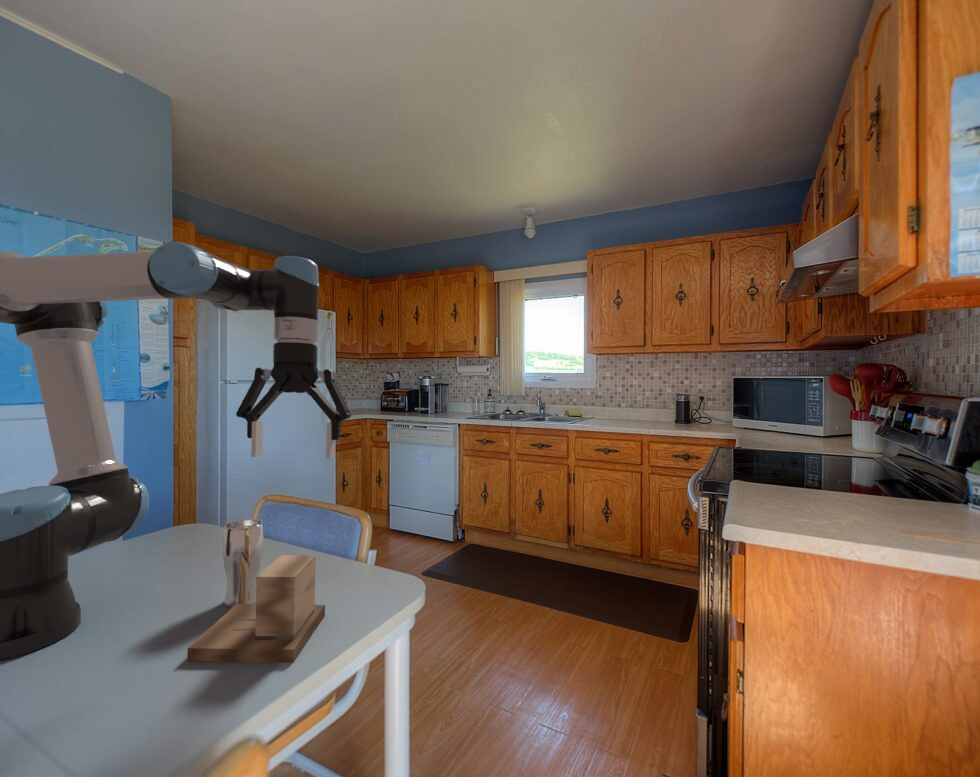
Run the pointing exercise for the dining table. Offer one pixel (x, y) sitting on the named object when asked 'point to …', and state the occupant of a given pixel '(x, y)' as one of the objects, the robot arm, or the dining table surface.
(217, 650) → the board
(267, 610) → the block
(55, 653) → the dining table surface
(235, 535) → the beer glass
